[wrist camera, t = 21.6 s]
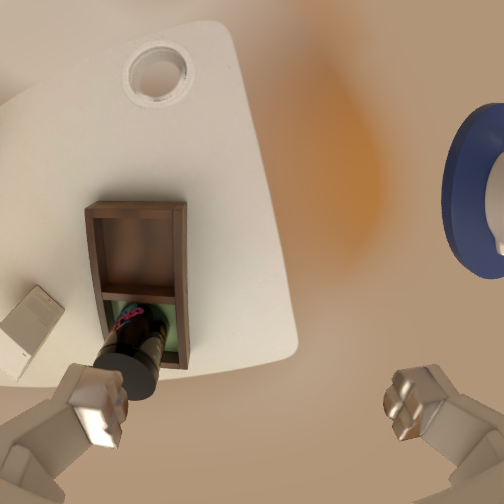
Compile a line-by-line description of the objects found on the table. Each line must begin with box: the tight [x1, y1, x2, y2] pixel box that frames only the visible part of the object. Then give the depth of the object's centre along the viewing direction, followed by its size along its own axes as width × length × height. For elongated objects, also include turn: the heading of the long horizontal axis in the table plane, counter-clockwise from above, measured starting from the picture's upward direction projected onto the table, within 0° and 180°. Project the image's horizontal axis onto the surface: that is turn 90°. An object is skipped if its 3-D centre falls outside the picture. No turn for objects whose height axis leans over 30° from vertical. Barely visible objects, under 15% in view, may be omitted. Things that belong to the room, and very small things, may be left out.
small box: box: [0, 286, 65, 382], centre depth 32 cm, size 8×6×10 cm
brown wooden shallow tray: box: [85, 201, 190, 370], centre depth 35 cm, size 11×20×4 cm, turn 176°
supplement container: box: [93, 302, 170, 401], centre depth 32 cm, size 7×7×10 cm
